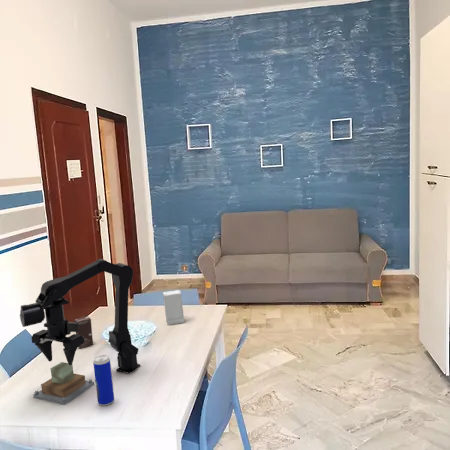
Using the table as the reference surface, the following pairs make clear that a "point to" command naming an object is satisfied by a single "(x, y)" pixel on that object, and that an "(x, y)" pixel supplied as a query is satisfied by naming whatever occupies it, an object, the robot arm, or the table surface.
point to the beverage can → (103, 380)
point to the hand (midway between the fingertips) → (60, 362)
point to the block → (62, 373)
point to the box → (85, 331)
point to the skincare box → (173, 307)
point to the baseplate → (63, 399)
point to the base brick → (63, 386)
